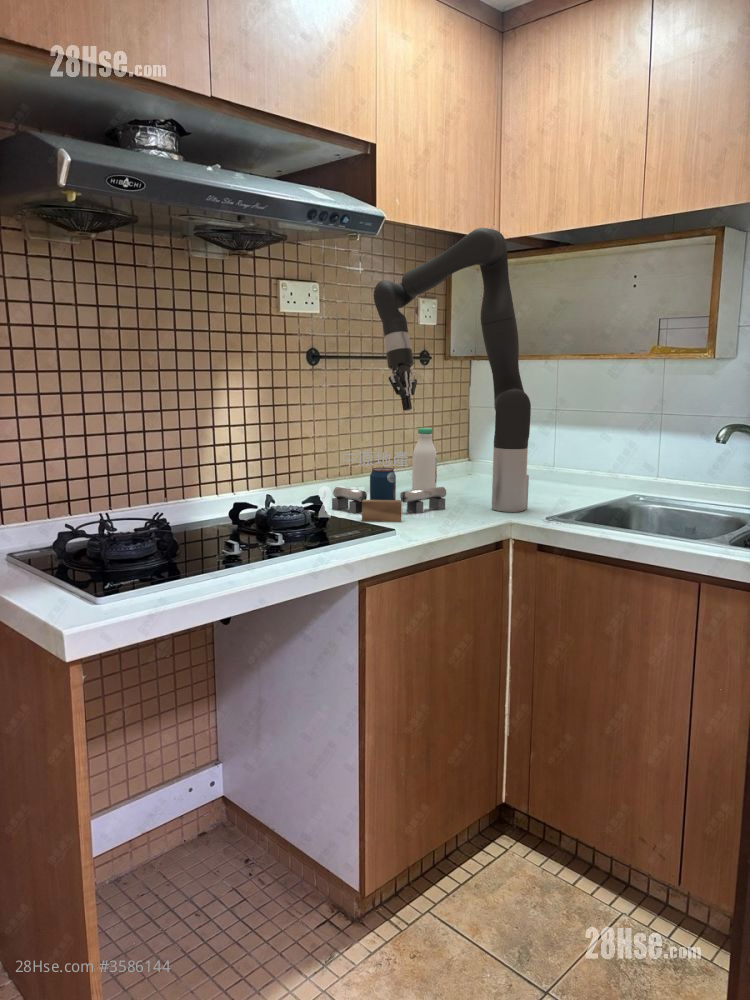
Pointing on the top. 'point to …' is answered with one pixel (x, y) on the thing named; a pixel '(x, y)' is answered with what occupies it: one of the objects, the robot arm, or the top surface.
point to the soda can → (382, 484)
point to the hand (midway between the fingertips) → (407, 409)
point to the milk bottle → (424, 461)
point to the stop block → (381, 510)
